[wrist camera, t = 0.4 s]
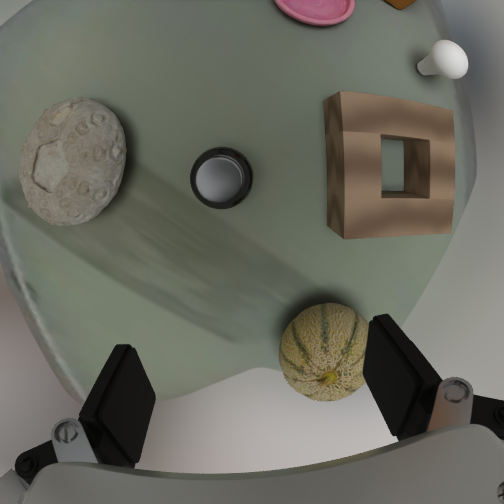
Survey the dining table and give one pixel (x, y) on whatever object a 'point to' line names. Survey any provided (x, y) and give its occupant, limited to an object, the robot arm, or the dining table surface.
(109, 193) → the grey rounded lump
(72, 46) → the dining table surface
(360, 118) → the socket block
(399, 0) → the coffee package
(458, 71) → the lightbulb
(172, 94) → the dining table surface
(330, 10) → the saucer
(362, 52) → the dining table surface
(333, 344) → the cantaloupe
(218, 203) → the supplement bottle
